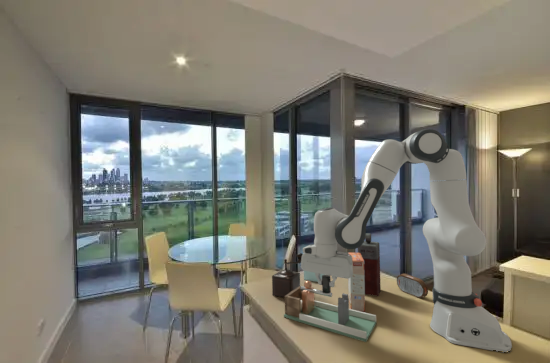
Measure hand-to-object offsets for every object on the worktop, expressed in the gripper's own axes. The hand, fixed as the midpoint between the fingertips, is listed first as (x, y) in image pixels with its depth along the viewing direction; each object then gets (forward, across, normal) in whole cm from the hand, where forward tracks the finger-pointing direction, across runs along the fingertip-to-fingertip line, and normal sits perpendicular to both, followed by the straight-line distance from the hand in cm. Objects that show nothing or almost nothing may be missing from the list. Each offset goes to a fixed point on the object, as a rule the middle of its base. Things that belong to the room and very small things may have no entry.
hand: (326, 285), depth 104 cm
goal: (+12, +12, 0) cm, 17 cm away
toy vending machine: (+13, -6, -36) cm, 39 cm away
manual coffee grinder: (+14, +26, -16) cm, 34 cm away
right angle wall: (+14, +23, -41) cm, 49 cm away
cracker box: (+13, -6, -19) cm, 24 cm away
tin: (+13, -24, -43) cm, 51 cm away
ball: (+10, +11, 0) cm, 15 cm away
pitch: (+13, -1, 0) cm, 13 cm away
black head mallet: (+12, +4, 0) cm, 13 cm away
